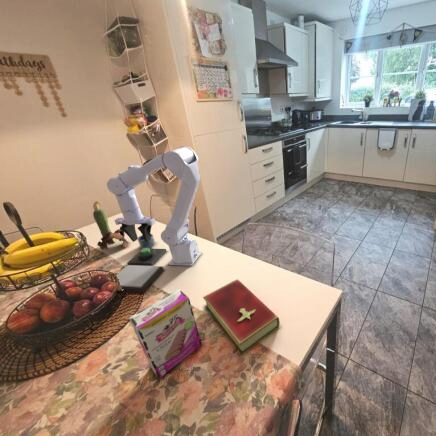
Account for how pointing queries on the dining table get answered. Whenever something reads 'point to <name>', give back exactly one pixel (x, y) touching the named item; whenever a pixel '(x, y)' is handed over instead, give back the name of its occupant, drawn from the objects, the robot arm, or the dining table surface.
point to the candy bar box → (167, 332)
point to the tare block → (147, 257)
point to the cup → (146, 244)
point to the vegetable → (101, 219)
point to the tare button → (145, 251)
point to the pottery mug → (109, 239)
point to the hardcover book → (241, 315)
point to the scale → (138, 277)
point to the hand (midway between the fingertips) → (141, 240)
